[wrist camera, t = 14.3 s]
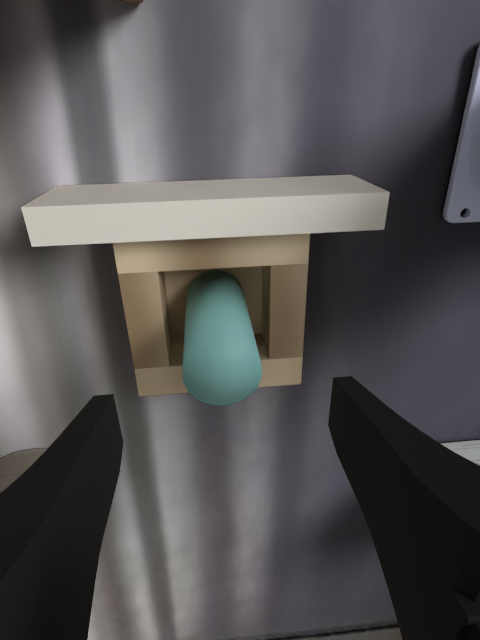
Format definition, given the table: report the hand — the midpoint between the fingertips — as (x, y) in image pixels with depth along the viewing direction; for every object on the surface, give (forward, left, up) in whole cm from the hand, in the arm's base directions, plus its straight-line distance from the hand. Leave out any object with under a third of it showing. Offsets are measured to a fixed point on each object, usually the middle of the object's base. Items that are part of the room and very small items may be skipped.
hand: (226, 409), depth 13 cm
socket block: (0, 0, -10) cm, 10 cm away
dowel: (0, 0, -9) cm, 9 cm away
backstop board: (0, -5, -10) cm, 11 cm away
